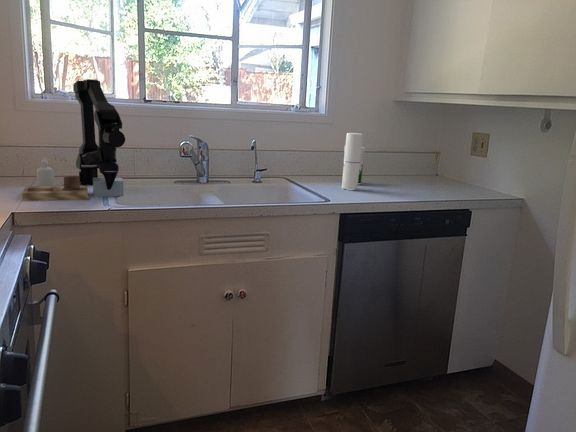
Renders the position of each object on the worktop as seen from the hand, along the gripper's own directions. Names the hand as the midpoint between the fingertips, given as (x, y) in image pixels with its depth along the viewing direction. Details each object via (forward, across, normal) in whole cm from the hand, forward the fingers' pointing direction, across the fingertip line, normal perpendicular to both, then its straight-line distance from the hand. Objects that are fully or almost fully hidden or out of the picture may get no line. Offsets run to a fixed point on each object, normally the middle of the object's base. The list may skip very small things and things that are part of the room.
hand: (108, 187), depth 179 cm
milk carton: (+3, -18, +112) cm, 113 cm away
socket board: (+3, +2, -17) cm, 17 cm away
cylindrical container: (+3, -4, +103) cm, 103 cm away
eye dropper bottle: (+3, -10, -21) cm, 23 cm away
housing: (+3, 0, 0) cm, 3 cm away
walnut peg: (+3, +2, -12) cm, 12 cm away
